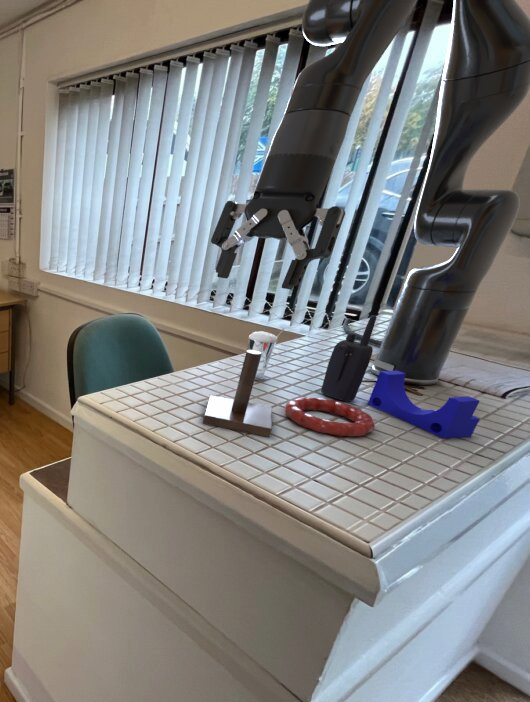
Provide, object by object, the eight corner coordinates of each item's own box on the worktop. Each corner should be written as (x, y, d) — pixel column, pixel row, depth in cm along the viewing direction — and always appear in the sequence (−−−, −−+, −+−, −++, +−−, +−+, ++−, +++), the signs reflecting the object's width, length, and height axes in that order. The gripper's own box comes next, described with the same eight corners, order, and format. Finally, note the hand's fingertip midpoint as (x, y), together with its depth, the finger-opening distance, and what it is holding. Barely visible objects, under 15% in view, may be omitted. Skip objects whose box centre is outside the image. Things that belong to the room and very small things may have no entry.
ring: (283, 401, 80) (286, 391, 79) (365, 415, 74) (369, 404, 74) (284, 427, 72) (288, 415, 71) (377, 445, 66) (382, 433, 65)
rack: (208, 402, 80) (222, 340, 76) (269, 414, 76) (289, 348, 71) (202, 423, 73) (218, 355, 69) (269, 437, 69) (291, 366, 64)
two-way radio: (359, 401, 79) (392, 317, 73) (339, 405, 78) (370, 319, 72) (328, 389, 84) (355, 309, 78) (309, 392, 83) (335, 311, 77)
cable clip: (470, 436, 68) (489, 399, 65) (443, 438, 67) (460, 401, 65) (391, 402, 79) (405, 369, 76) (367, 403, 78) (380, 371, 76)
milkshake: (275, 382, 88) (289, 331, 84) (244, 380, 89) (257, 330, 85) (264, 373, 92) (278, 325, 88) (235, 372, 93) (247, 324, 89)
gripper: (377, 163, 56) (320, 294, 62) (253, 163, 67) (214, 276, 72) (360, 148, 52) (300, 292, 57) (231, 151, 62) (191, 272, 68)
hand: (252, 283), depth 65 cm, fingers open, 8 cm apart
